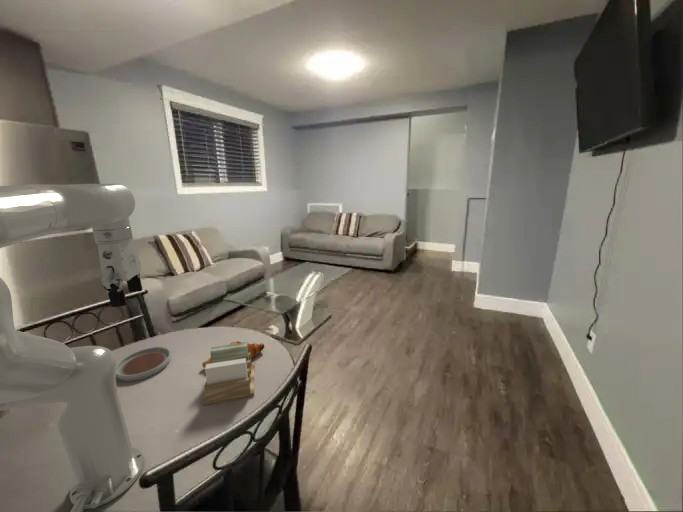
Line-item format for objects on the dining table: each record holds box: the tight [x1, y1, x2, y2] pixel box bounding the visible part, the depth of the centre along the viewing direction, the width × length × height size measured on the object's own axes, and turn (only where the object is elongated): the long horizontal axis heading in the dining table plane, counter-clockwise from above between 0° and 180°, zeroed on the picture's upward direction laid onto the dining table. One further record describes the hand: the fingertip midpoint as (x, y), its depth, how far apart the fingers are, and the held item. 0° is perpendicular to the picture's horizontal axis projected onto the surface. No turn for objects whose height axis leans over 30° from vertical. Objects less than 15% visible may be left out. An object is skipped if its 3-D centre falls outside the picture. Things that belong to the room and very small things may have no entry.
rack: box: [202, 341, 256, 406], centre depth 89 cm, size 15×14×10 cm
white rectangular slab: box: [204, 358, 248, 385], centre depth 85 cm, size 2×11×10 cm, turn 105°
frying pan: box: [116, 346, 173, 382], centre depth 96 cm, size 17×3×28 cm
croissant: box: [201, 341, 265, 369], centre depth 101 cm, size 21×10×8 cm, turn 121°
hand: (128, 298), depth 76 cm, fingers open, 9 cm apart
